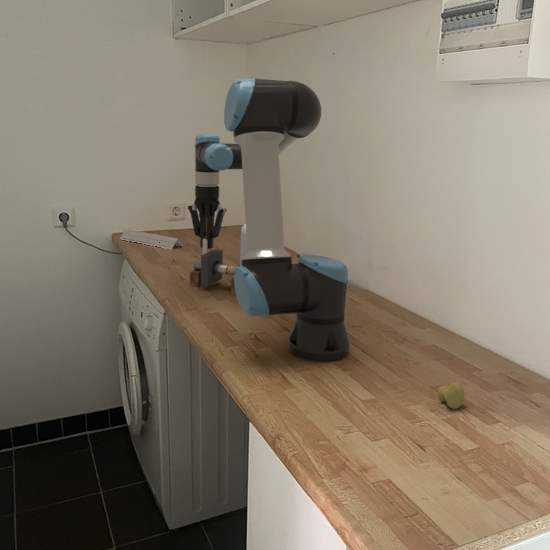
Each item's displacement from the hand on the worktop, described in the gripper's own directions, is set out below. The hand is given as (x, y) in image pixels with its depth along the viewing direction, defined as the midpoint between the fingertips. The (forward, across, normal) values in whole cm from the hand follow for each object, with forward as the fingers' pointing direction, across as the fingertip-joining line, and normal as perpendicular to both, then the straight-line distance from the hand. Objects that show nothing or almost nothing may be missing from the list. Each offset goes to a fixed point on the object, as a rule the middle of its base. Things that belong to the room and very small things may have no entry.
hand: (206, 257), depth 187 cm
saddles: (+10, -5, 0) cm, 11 cm away
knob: (+10, -83, +47) cm, 96 cm away
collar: (+8, -2, 0) cm, 8 cm away
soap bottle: (+10, -5, -27) cm, 29 cm away
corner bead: (+10, +50, -42) cm, 66 cm away
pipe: (+5, -5, 0) cm, 7 cm away
